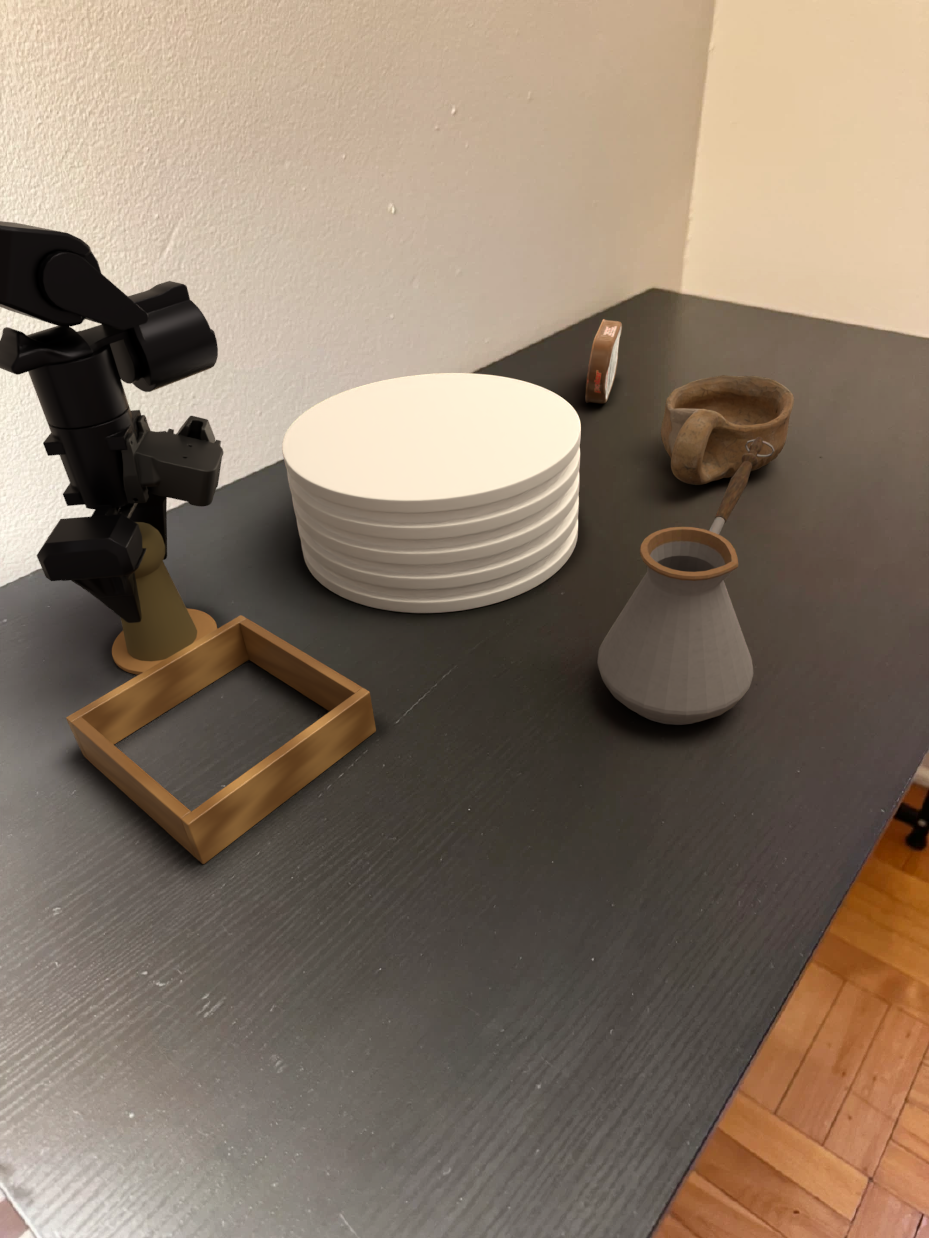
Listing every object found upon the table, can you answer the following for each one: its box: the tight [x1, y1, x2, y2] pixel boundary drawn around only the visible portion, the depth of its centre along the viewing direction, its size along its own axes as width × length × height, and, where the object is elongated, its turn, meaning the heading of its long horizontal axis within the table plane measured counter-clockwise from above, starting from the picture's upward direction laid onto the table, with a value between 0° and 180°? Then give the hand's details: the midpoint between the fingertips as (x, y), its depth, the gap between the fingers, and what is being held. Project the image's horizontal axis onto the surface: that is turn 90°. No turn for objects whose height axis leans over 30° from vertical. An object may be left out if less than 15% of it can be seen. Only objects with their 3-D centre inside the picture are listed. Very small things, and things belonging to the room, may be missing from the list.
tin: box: [584, 318, 623, 404], centre depth 111 cm, size 15×3×8 cm, turn 165°
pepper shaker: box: [119, 522, 197, 661], centre depth 70 cm, size 6×6×11 cm
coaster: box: [111, 607, 219, 676], centre depth 74 cm, size 9×9×1 cm
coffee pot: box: [596, 437, 774, 726], centre depth 64 cm, size 21×12×15 cm, turn 147°
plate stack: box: [281, 372, 582, 614], centre depth 83 cm, size 28×28×12 cm
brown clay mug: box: [660, 374, 795, 486], centre depth 91 cm, size 18×14×10 cm
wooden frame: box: [65, 614, 377, 865], centre depth 62 cm, size 16×16×4 cm
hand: (148, 588), depth 71 cm, fingers open, 9 cm apart
